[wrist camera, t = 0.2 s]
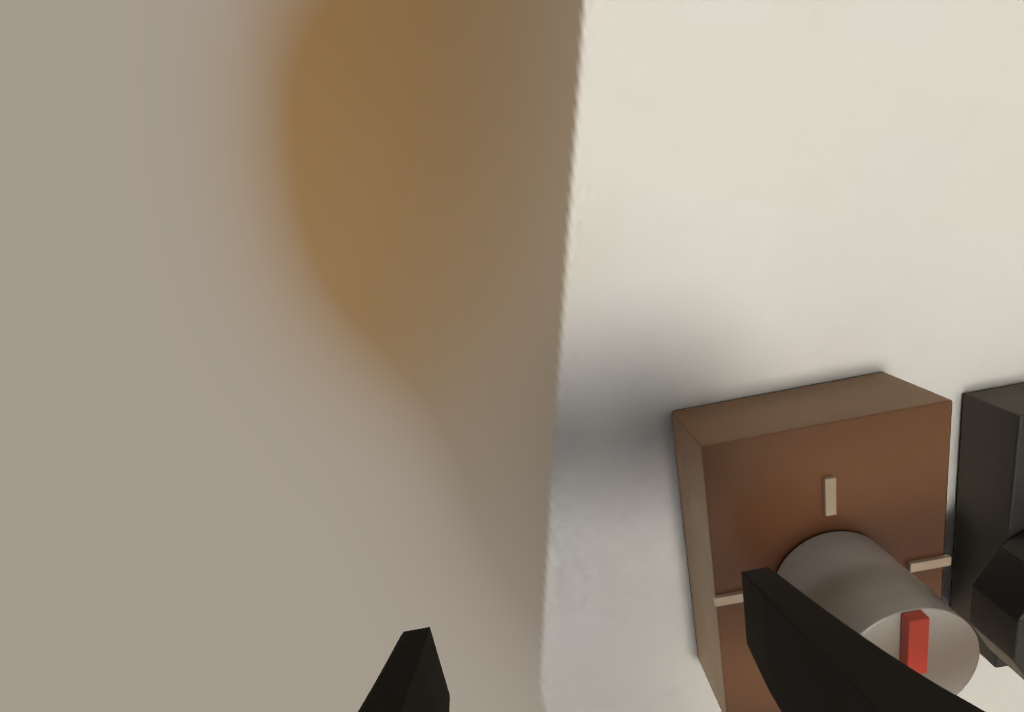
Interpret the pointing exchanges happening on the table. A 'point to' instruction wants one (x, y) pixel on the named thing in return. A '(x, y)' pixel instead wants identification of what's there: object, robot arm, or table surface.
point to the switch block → (991, 524)
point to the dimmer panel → (804, 497)
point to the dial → (885, 605)
